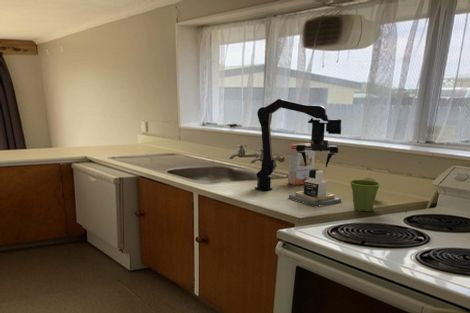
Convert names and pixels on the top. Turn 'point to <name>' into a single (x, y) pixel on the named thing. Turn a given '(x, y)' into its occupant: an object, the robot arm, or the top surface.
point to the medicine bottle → (315, 184)
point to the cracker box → (300, 165)
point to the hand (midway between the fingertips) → (315, 166)
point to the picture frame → (315, 199)
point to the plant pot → (364, 194)
